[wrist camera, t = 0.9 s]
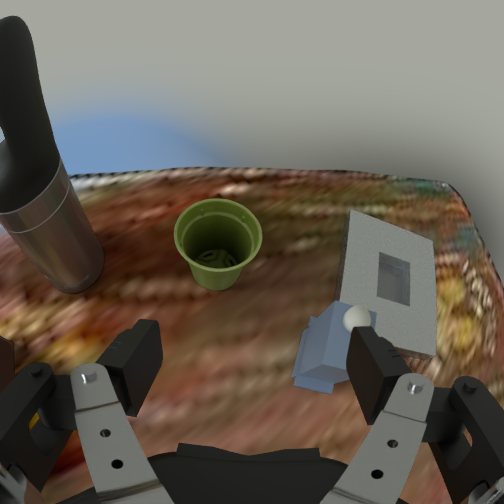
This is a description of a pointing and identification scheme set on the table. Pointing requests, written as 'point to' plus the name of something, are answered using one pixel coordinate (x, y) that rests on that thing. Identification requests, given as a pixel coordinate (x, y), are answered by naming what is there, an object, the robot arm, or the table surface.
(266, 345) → the table surface
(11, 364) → the letter holder
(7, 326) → the table surface
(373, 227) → the plate
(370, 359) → the robot arm
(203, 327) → the table surface
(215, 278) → the plant pot
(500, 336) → the table surface
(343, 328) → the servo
